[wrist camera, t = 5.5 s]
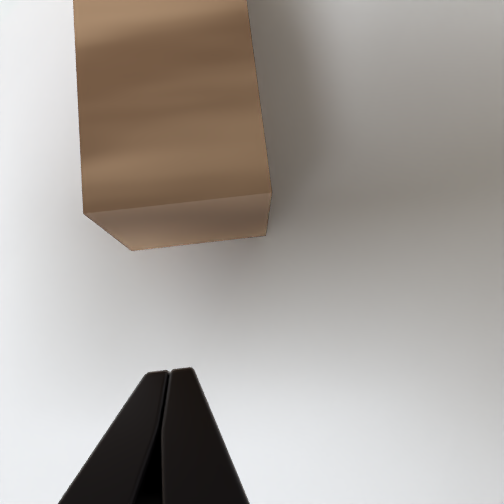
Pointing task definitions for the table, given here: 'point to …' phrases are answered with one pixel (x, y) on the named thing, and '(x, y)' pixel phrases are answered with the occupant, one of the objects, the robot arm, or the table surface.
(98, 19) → the walnut block
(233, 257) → the table surface
